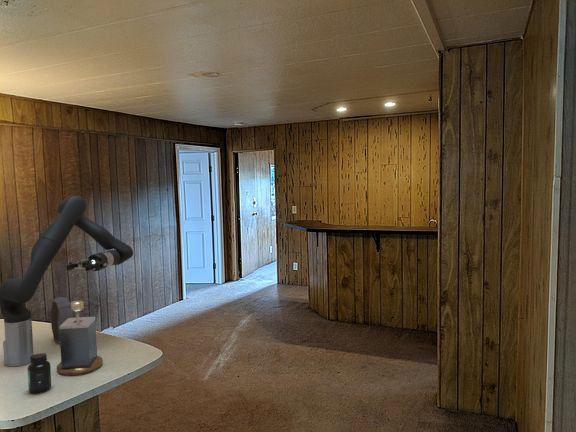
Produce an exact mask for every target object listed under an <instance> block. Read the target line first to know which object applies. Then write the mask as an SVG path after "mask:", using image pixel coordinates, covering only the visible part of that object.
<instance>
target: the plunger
mask: <svg viewBox="0 0 576 432" xmlns="http://www.w3.org/2000/svg"><path fill="white" fill-rule="evenodd" d="M70 303H71V311H73V312H74V313H75V318H76V322H80V312H81V311H84V309H85V308H84V307H85V306H84V305H85V304H84V300H74V301H70Z"/></svg>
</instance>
